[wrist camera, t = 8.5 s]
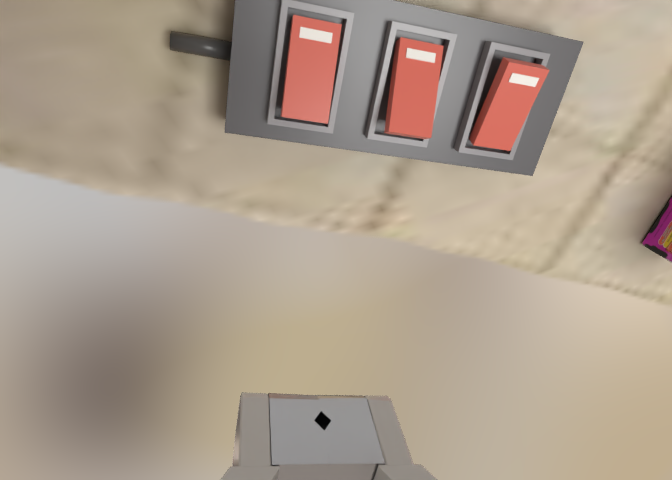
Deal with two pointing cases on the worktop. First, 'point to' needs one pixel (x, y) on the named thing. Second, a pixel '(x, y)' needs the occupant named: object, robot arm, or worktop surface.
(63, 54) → the worktop surface
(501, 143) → the rocker
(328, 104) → the rocker
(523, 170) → the rocker switch panel
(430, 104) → the rocker
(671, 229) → the candy bar box
